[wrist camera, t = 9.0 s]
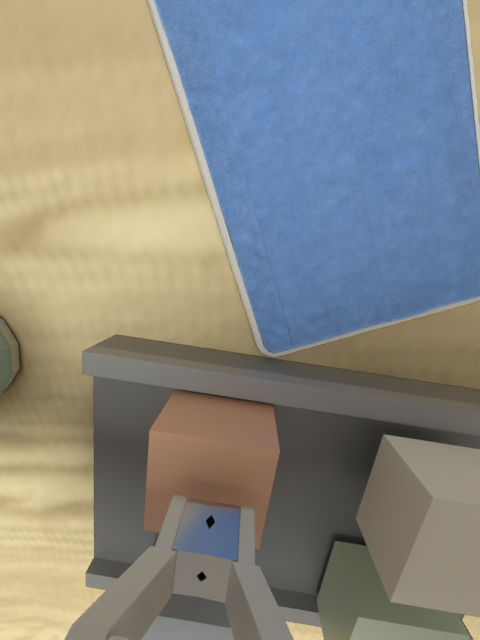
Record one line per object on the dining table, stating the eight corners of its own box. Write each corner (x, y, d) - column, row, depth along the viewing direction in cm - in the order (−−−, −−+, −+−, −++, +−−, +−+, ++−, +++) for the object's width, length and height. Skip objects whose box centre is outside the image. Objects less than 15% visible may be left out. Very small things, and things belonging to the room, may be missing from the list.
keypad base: (522, 396, 13) (591, 429, 11) (432, 590, 17) (466, 652, 14) (115, 334, 14) (82, 351, 11) (111, 536, 17) (85, 586, 15)
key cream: (493, 451, 11) (586, 522, 8) (454, 534, 12) (523, 624, 9) (383, 434, 11) (433, 497, 8) (355, 518, 12) (390, 601, 9)
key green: (422, 554, 13) (469, 636, 10) (396, 614, 14) (433, 702, 11) (335, 540, 13) (358, 617, 10) (316, 600, 15) (332, 684, 12)
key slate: (249, 546, 13) (248, 631, 10) (236, 609, 14) (232, 702, 11) (158, 530, 13) (129, 610, 10) (152, 595, 14) (126, 683, 11)
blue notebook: (137, -32, 10) (121, -74, 9) (428, -180, 9) (458, -253, 8) (260, 355, 14) (261, 364, 13) (478, 294, 13) (504, 297, 12)
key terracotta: (272, 405, 12) (279, 451, 9) (257, 485, 13) (258, 549, 10) (175, 389, 12) (149, 430, 9) (168, 470, 13) (143, 530, 10)
